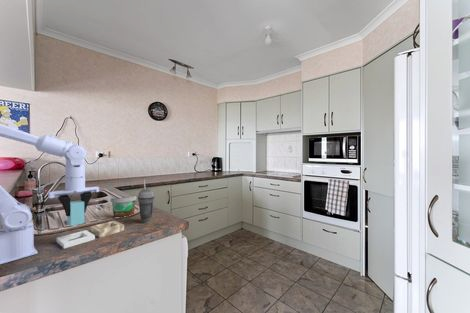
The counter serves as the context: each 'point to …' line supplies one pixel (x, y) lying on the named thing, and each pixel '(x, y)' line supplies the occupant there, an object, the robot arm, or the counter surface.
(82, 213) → the teal plug
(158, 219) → the counter surface
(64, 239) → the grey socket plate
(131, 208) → the food container
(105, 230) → the ash socket block
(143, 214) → the beverage cup
